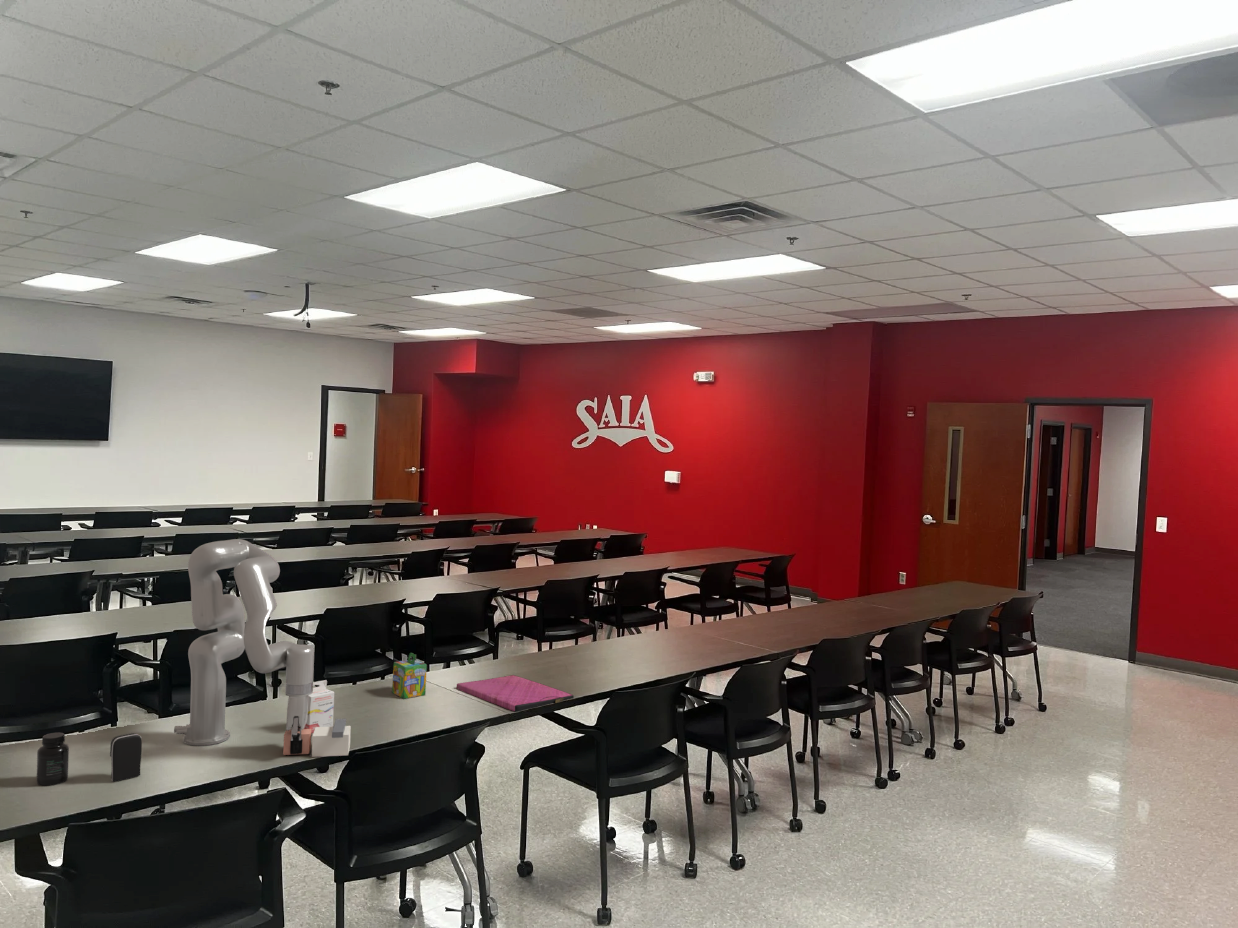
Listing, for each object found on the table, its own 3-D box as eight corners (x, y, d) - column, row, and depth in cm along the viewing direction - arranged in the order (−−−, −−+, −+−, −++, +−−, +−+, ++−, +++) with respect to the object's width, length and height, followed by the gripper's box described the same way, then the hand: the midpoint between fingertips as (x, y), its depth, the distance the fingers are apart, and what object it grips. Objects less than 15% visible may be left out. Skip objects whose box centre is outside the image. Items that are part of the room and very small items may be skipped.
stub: (283, 754, 244) (283, 734, 243) (285, 749, 248) (286, 729, 248) (308, 753, 245) (309, 733, 245) (310, 748, 250) (311, 728, 250)
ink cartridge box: (309, 734, 262) (310, 687, 262) (300, 730, 265) (302, 684, 265) (333, 728, 269) (335, 682, 268) (325, 724, 272) (326, 678, 271)
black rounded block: (136, 772, 228) (138, 730, 228) (141, 776, 225) (142, 733, 225) (107, 778, 223) (108, 735, 223) (112, 783, 220) (113, 739, 220)
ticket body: (308, 759, 242) (309, 733, 242) (313, 744, 253) (314, 719, 253) (347, 757, 244) (348, 731, 244) (350, 743, 256) (351, 718, 256)
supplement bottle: (37, 778, 221) (38, 733, 221) (68, 774, 225) (69, 729, 224) (35, 788, 215) (36, 741, 215) (67, 783, 219) (68, 737, 219)
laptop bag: (455, 679, 317) (513, 669, 336) (455, 689, 317) (512, 679, 336) (523, 704, 289) (581, 692, 308) (522, 715, 289) (580, 703, 308)
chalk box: (391, 693, 308) (392, 652, 308) (414, 689, 314) (415, 649, 314) (403, 699, 301) (404, 658, 301) (426, 695, 307) (427, 654, 307)
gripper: (289, 680, 254) (287, 740, 254) (281, 697, 237) (279, 761, 237) (316, 679, 255) (314, 739, 256) (309, 696, 239) (307, 760, 239)
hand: (297, 749), depth 247 cm, fingers closed on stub, 4 cm apart
